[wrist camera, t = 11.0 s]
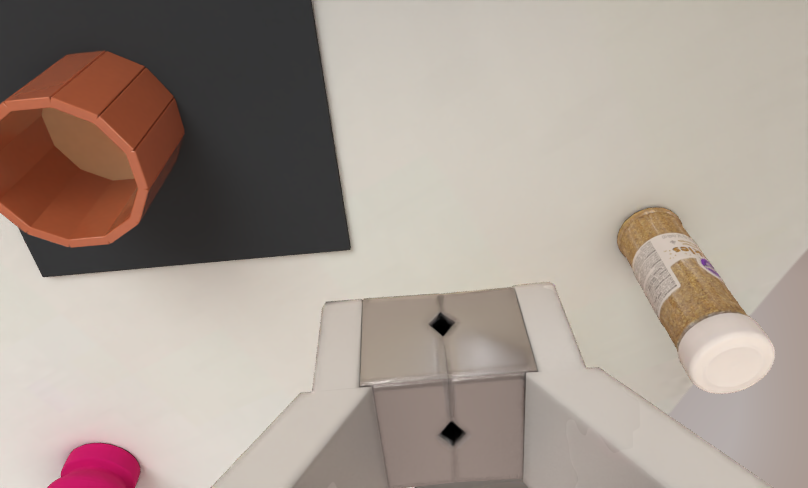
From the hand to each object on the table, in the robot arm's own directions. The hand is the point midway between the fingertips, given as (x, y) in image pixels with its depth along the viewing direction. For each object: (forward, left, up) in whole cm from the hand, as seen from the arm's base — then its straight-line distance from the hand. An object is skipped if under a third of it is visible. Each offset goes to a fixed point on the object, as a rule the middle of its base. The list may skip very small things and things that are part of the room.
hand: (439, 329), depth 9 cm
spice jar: (+20, +16, -31) cm, 40 cm away
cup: (+8, -14, -27) cm, 31 cm away
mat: (+8, -16, -31) cm, 36 cm away
